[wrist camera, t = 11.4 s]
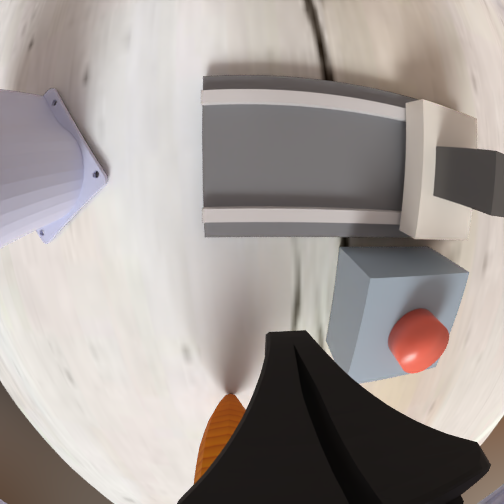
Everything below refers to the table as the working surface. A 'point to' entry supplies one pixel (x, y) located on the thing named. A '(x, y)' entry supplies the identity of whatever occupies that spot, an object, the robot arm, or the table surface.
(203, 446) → the carrot
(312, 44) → the table surface
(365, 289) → the blue-grey block
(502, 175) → the carriage
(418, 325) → the button
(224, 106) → the rail board
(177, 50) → the table surface
